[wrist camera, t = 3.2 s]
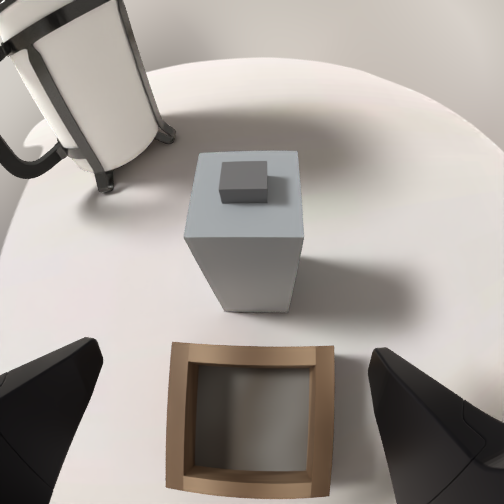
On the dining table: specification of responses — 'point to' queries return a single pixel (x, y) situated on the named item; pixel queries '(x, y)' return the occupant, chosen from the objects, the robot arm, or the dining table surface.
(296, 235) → the plug
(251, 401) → the socket
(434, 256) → the dining table surface
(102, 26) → the coffee press
